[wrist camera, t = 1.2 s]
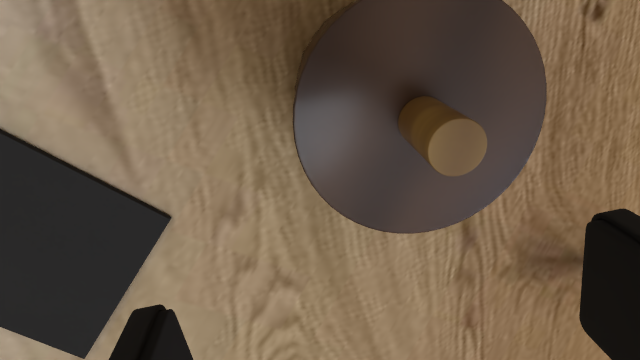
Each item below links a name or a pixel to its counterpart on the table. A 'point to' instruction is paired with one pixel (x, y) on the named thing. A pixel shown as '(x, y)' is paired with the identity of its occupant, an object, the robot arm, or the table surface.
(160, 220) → the mat
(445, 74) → the tin lid
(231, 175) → the table surface
